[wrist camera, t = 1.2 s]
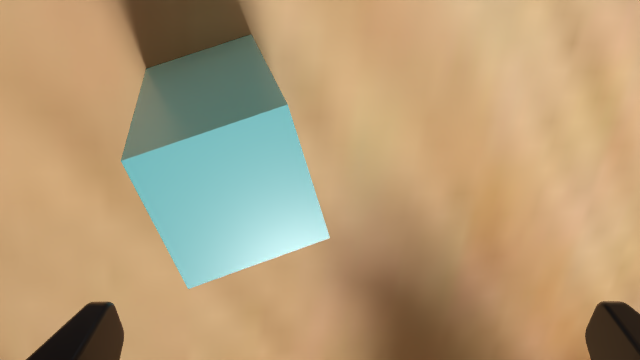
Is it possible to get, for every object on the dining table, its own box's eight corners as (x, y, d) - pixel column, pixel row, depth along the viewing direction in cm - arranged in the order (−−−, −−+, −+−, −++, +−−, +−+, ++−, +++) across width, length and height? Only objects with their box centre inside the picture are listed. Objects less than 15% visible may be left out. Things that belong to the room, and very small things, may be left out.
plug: (188, 162, 21) (188, 288, 14) (146, 68, 19) (120, 160, 12) (282, 130, 21) (329, 238, 14) (251, 34, 19) (287, 104, 12)
